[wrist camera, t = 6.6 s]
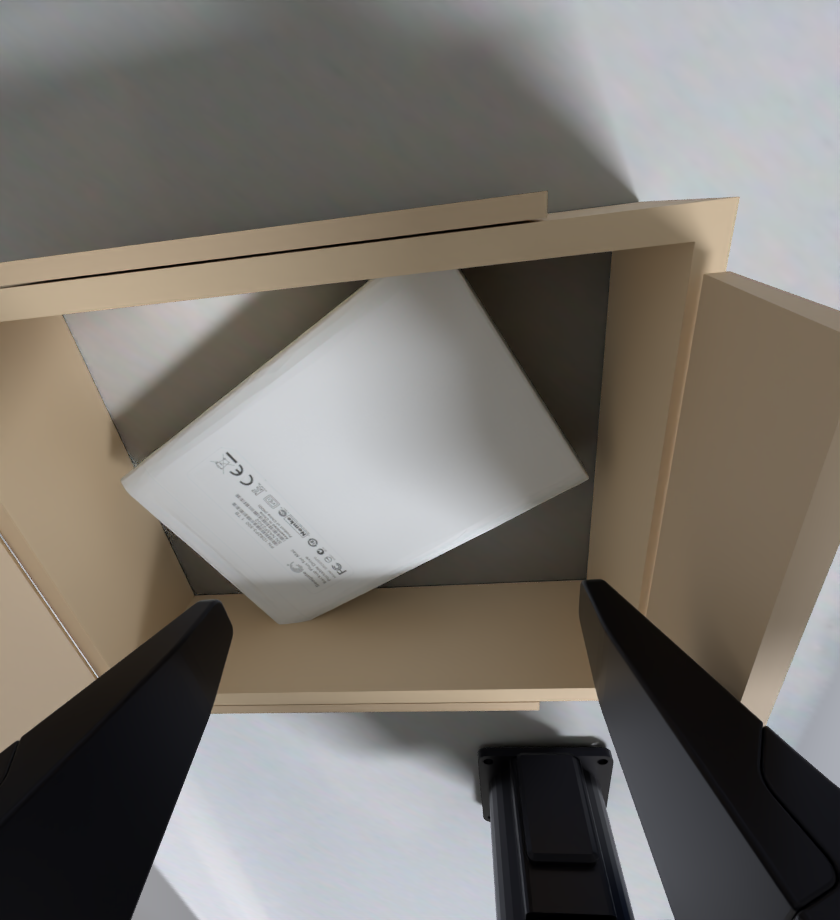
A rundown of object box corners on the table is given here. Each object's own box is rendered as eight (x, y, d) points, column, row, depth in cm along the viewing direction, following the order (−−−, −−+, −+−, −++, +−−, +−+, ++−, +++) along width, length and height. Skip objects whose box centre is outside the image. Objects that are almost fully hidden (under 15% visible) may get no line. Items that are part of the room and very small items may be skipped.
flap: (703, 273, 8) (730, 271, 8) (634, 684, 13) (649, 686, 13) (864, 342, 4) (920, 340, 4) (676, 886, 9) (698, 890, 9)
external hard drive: (579, 457, 15) (300, 605, 19) (435, 227, 12) (142, 460, 16) (593, 483, 13) (288, 638, 17) (433, 229, 10) (111, 484, 14)
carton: (600, 599, 18) (642, 709, 14) (189, 613, 20) (124, 714, 16) (642, 181, 11) (746, 164, 7) (17, 262, 13) (-170, 285, 9)
